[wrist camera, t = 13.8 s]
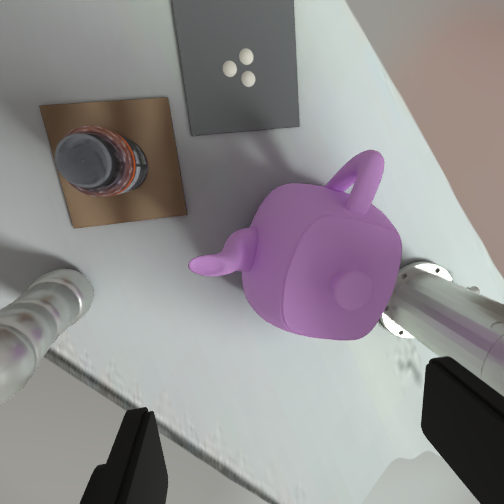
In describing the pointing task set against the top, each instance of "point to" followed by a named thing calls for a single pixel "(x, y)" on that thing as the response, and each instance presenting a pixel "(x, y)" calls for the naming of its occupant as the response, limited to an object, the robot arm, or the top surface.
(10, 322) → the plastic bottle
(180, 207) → the walnut board
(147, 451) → the robot arm
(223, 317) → the top surface
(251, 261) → the teapot
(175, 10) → the dot mat
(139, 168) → the supplement bottle
